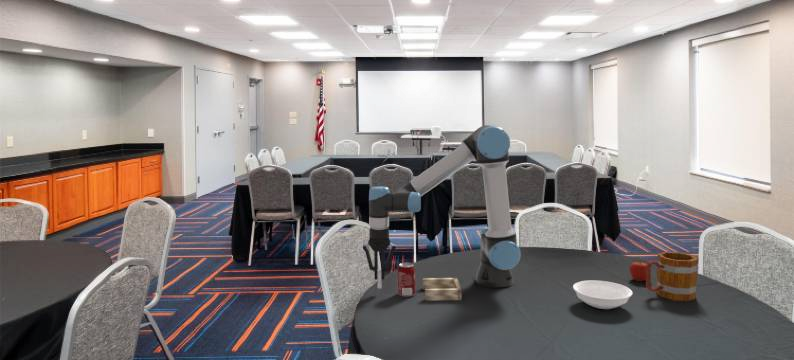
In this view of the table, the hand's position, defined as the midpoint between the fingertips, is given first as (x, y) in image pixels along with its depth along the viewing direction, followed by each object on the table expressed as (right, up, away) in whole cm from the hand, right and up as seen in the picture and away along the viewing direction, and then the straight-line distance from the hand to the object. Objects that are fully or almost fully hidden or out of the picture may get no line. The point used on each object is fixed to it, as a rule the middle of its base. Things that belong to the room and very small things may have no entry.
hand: (379, 287), depth 196 cm
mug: (+109, -3, -4) cm, 109 cm away
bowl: (+80, -4, -14) cm, 81 cm away
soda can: (+10, -3, 0) cm, 11 cm away
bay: (+23, -3, +1) cm, 23 cm away
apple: (+107, 0, +14) cm, 108 cm away
